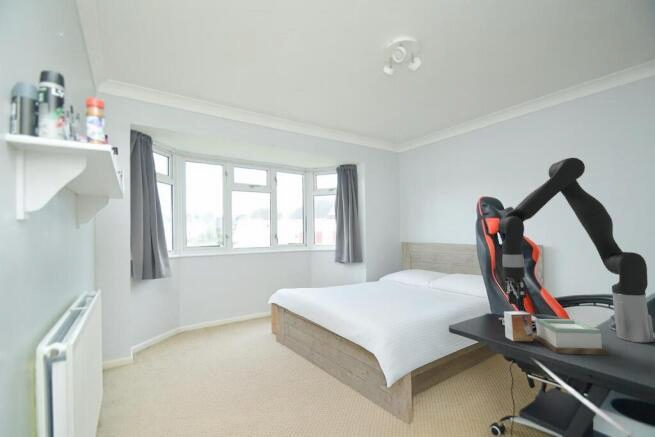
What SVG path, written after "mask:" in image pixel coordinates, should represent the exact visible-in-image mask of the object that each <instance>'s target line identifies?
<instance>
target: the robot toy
mask: <svg viewBox="0 0 655 437" xmlns="http://www.w3.org/2000/svg"><path fill="white" fill-rule="evenodd" d="M531 317H532V329H535V328H537V326H536V319H538V318H537V317H536V316H534V315H532V314H531ZM498 320H499V322H500V324H502V325H503V326H505V320H504V316H502V317H498Z"/></svg>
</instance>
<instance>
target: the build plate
mask: <svg viewBox="0 0 655 437" xmlns="http://www.w3.org/2000/svg"><path fill="white" fill-rule="evenodd" d="M533 339H534V340H536V341H538V342H539V343H541V344H542V345H544V346H545V347H547V348H548V349H549V350H550V351H552V352H554V353H555V354H569V355H573V354H574V355H606V356H607V355H608V356H609V355H610V350H609V349H607V348H605V347H604V346H602V348H561V347H555V346H554V345H552V344H551V343H549V342H548V341H546V340H544V339H543V338H541V337H540V336H538V335H537V333H533Z"/></svg>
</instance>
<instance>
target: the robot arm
mask: <svg viewBox="0 0 655 437" xmlns="http://www.w3.org/2000/svg"><path fill="white" fill-rule="evenodd" d="M585 169H586V166H585V164H584V161H582V160H581V159H580V158H577V157H568V158H564V159H562V160H559V161H557V162H555V163H552V164H551V165H550V166H549V168H548V176H549V179H548V180H547V181H545V183H543V184H541V185H540V186H538V187H537V188H536V189H534V190H533V191H532V192H531V193H529V194H528V195H527V196H525V198H524V199H523V200H521V202H519V204H517V206H516V207H514V208H513V209H512V210H510V211H509V212H508V213H506V214H505V215H504V216H503V217H501V219H500V220H499V221H498V224H497V228H498V230H499V231H500V232H501V233H502V234H505V237H504V240H503V241H502V243H501V247H502V248H501V251H502V258H501V259H502V274H503V277H504V289H505V290H504V291H505V292H506V294H507V298H508V304H510V305H515V304H516V306H517V308H518V309H521V310H523V309H525V299H526V298H527V288H526V286H527V285H526V282H525V281H524V282H523V281H522V280H521V279H524V278H526V272H525V271H526V269H525V260H524V253H523V240H524V234H525V225H524V222H525V221H527V220H530V219H531V218H533V217H534V216H536V214H537V213H538V212H540V210H541V209H542V208H544V207H545V206H546V204H547V203H549V202H550V201H551V200H553V198H554V197H555V196H556V195H557V194H559V193H561V194H562V195H563V197H564V198H565V200H566V202H567V203H568V205H569V206H570V208H571V209H572V211H573V212H574V214H575V216H576V217H577V218H576V219H578V221H579V223H580V224H581V226H582V227H583V229H584V231H586V233H587V235H588V237H589V238H590V240H591V241H592V243H593V245H594V247H595V248H596V250H597V253H598V256H600V259H601V261H602V263H603V266H604V267H605V268H606V269H607V271H608V272H609V273H612V274H614V275H619V276H618V279H619V280H618V282H617V283H615V284H612V286H611V292H612V304H613V311H614V312H613V313H614V320H615V323H614V324H615V332H616V337H617V338H619V339H621V340H624V341H628V342H634V343H650V342H655V337H654V336H655V335H654V330H653V326H654V325H653V319H652V315H651V314H649V311H648V305H647V303H648V302H647V295H646V290H647V288H648V284H649V283H648V267H647V262H646V260H645V258H644V256H642V255H641V254H640V253H637V252H630V251H623V250H622V249H621V248H620V246H619V245H618V244H617V242H616V240H615V238H614V224H613V220H612V217H611V215H610V213H609V212H608V210H607V209H606V207H605V206H604V204H603V203H601V201H599V200H598V199H597V198H596V197H594V196H593V195H591V194H590V193H588V192H587V191H586V190H584V189H583V188H582V186H581V184H580V183H579V182H578V179H579V178H580V177H582V176H583V174H584V173H585Z"/></svg>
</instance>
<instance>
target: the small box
mask: <svg viewBox="0 0 655 437" xmlns="http://www.w3.org/2000/svg"><path fill="white" fill-rule="evenodd" d="M531 315H532V314H531V313H529V312H527V311H524V310H516V311H513V310H512V311H507V310H506V311H503V317H504V320H505V325H504V330H505V331H504V332H505V333H504V334H505V338H507V340H510V341H512V342H534V338H533V334H534V332H533V329H534V328H533V329H532V317H531Z"/></svg>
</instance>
